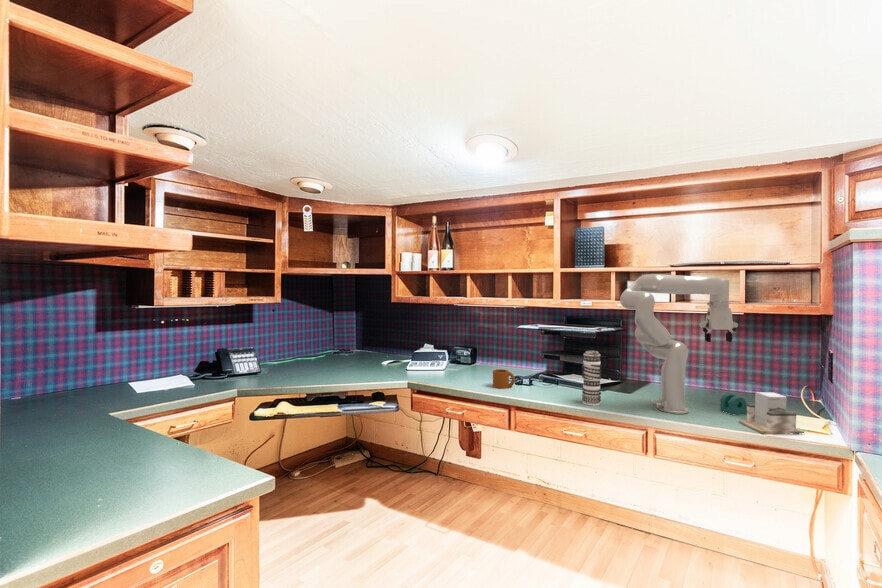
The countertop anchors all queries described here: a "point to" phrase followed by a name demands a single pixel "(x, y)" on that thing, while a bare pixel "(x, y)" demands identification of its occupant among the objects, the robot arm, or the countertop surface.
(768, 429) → the clip holder
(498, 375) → the mug
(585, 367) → the decorative candle
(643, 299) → the robot arm
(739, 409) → the bracket
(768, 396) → the supplement box
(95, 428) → the countertop surface
